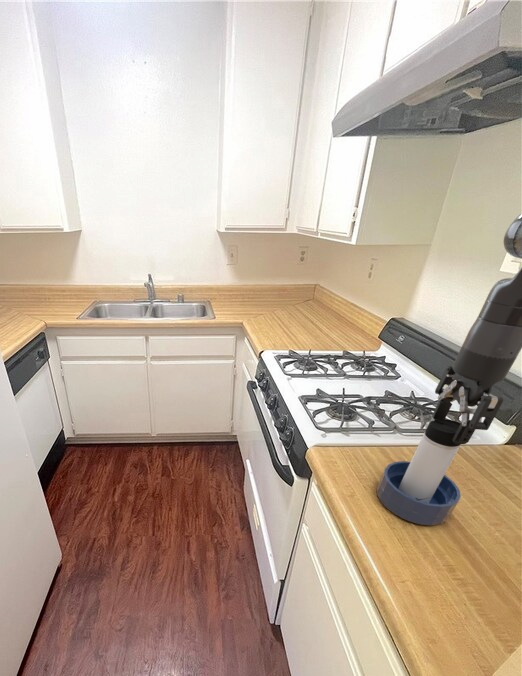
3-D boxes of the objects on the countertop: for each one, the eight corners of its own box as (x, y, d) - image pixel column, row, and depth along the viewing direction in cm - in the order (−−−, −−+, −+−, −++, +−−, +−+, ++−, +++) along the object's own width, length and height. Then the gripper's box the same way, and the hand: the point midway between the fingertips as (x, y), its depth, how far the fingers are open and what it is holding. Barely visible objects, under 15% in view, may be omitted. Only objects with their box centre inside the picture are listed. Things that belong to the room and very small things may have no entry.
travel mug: (420, 515, 72) (463, 436, 61) (389, 497, 77) (425, 420, 66) (433, 503, 75) (477, 426, 64) (404, 486, 80) (440, 411, 69)
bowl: (430, 484, 82) (441, 464, 78) (460, 531, 70) (474, 510, 67) (368, 478, 83) (376, 458, 80) (387, 522, 71) (397, 501, 68)
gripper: (545, 366, 51) (489, 454, 60) (490, 336, 62) (450, 413, 71) (490, 362, 51) (443, 450, 60) (446, 333, 63) (412, 410, 72)
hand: (447, 430), depth 66 cm, fingers open, 8 cm apart
